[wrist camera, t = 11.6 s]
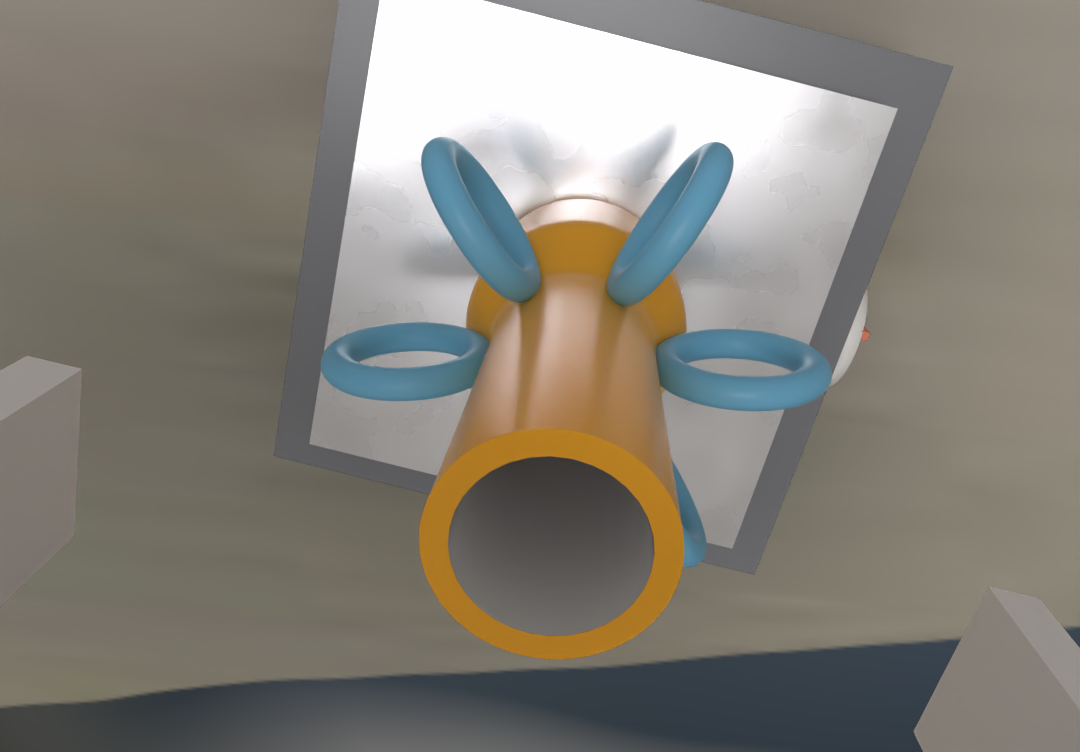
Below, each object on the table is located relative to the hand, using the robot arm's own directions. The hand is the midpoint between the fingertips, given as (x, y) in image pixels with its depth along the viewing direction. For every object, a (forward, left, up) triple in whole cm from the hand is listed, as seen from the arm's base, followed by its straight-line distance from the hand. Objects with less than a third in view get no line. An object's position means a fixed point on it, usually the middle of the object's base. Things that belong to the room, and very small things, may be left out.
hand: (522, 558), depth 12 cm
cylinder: (0, 0, -16) cm, 16 cm away
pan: (0, 0, -21) cm, 21 cm away
